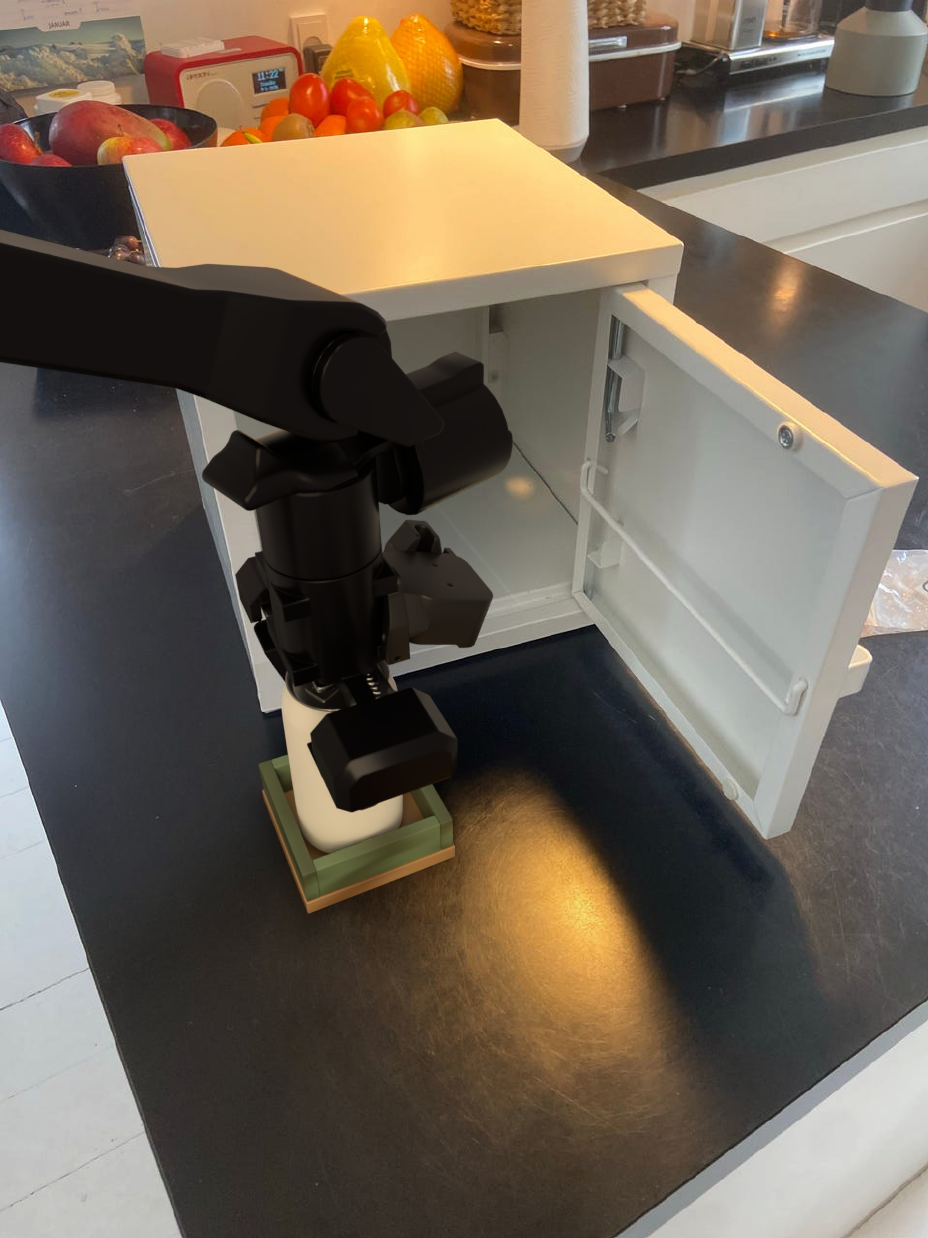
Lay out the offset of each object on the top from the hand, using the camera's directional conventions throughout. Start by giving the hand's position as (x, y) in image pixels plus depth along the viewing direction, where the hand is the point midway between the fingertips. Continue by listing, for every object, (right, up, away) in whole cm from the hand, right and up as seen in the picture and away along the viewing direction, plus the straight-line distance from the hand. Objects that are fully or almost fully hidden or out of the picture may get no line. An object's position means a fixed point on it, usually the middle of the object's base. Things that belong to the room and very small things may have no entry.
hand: (347, 766), depth 54 cm
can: (0, -4, +3) cm, 5 cm away
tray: (0, -4, +4) cm, 6 cm away
